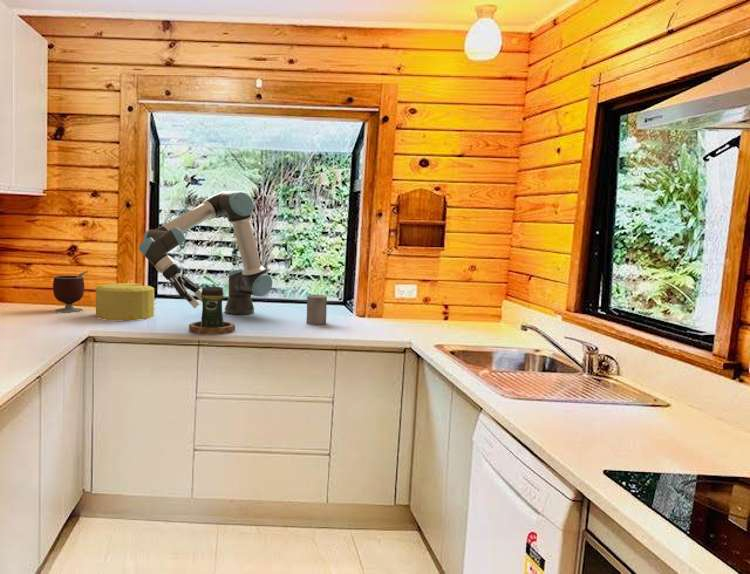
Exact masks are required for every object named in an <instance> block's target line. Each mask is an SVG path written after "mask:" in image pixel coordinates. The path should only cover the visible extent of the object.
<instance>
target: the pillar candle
mask: <svg viewBox="0 0 750 574" xmlns="http://www.w3.org/2000/svg"><path fill="white" fill-rule="evenodd" d="M327 299H328V297H327V295H325V294H319V293H316V294H308V295H307V296H306V324H307V325H311V326H312V325H313V326H319V325H320V326H321V325H326V324H327V304H328V303H327Z"/></svg>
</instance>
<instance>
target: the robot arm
mask: <svg viewBox="0 0 750 574" xmlns="http://www.w3.org/2000/svg"><path fill="white" fill-rule="evenodd" d="M254 206H255V202H254V200H253V198H252V197H251V195H250V194H249V193H247V192H245V191H240V190H231V191H230V190H229V191H221V192H219V193H216V194H214V195H212V196H210V197H208V198H207V199H205V200H203V201H202V202H201V204H200V205H198V206H196V207H193V208H192V209H190V210H189V211H187V212H185V213H183V214H181V215H180V216H177V217H176V218H174V219H171V221H168V222H166V223H165V224H162V225H161V226H159V227H157V228H155V229H148V230H146V231H145V232H144V233H143V240H142V242H140V244H139V246H138V251H140V253H141V254H142V255H143V256H144V257H145V258H146V259H147V260H148V262H150V263H151V264H152V265H153V266H154V268H155V269H156V271H157V272H159V273H160V274H162V276H163V277H164V278H165V279H166V280H167V281H169V283H171V285H172V286H173V287H174V289H175V291H176V292H177V293H178V295H179V297H180V299H185V300H186V301H187V302H188V303H189V305H190V306H191V307H192V308H193V309H196V308H197V307H198V306H199V305H200V303H199V302H198V301H197V300H196V299H195V297H193V295H195V296H196V298H197V299H198V300H199V301H200V302H201V304H203V302H202V298H201V293H202V290H200V289H201V287H200V286H198V285H197V284H196V283H195V282H193V281H192V280H191V279H190V278H188V277H187V276H186V275H185V274H184V273H182V274H181V273H180V272H181V267H180V266H179V265H178V264H177V263H175V261H174V260H173V259H172V257H170V256H169V254H168V253H169V252H171V251H172V250H174V249H175V248H176V247H178V246H180V245H181V244H182V243H183V242H184V241H185V234H184V233H186V232H188V231H189V230H191V229H192V228H194V227H196V226H198V225H199V224H201V223H203V222H205V221H207V220H209V219H212V220H213V219H215V218H217V217H219V216H227V220H228V222H229V223H231V224H232V227H233V231H234V234H235V240H236V243H237V246H238V250H239V255H240V258H241V262H242V266H243V268H241V269H230V270H229V272H228V298H227V301H226V305H225V308H224V313H225V312H226V313H225V314H228V313H231V314H230V315H251V314H252V315H253V314H254V313H255V307H254V304H253V300H252V296H253V297H254V296H255V297H265V296H266V295H268V294H269V293H270V291H271V289H272V288H273V279H272V276H271V275H269V274H267V272H266V268H265V266H264V265H261V260H260V257H259V253H258V249H257V248H258V247H257V244H256V241H255V237H254V233H253V228H252V227H253V226H252V223H251V219H252V217H253V214H252V213H253V211H254V208H255V207H254ZM187 289H188V290H189V291H191V292H192V293H193V295H192V294H191V293H190V292H189V293H188V290H187Z"/></svg>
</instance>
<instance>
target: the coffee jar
mask: <svg viewBox="0 0 750 574" xmlns="http://www.w3.org/2000/svg"><path fill="white" fill-rule="evenodd" d="M201 292H202V293H201V298H202V302H203V303H202V302H201V303H202V306H201V307H202V308H201V309H202V311H201V320H200V321H201V327H205V328H219V327H223V321H224V315H223V300H224V296H225V295H224V289H223V287H221V286H204V287H202V289H201Z"/></svg>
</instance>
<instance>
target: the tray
mask: <svg viewBox="0 0 750 574" xmlns="http://www.w3.org/2000/svg"><path fill="white" fill-rule="evenodd" d="M189 330H190V332H191V333H192V332H193V333H194V334H198V335H225V334H231V333H233V332H235V331H236V324H235V323H234V322H231V321H226V320H225V321H224V320H223V327H219V328H205V327H201V320H200V321H194V322H191V323H188V331H189ZM234 330H235V331H234Z"/></svg>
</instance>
